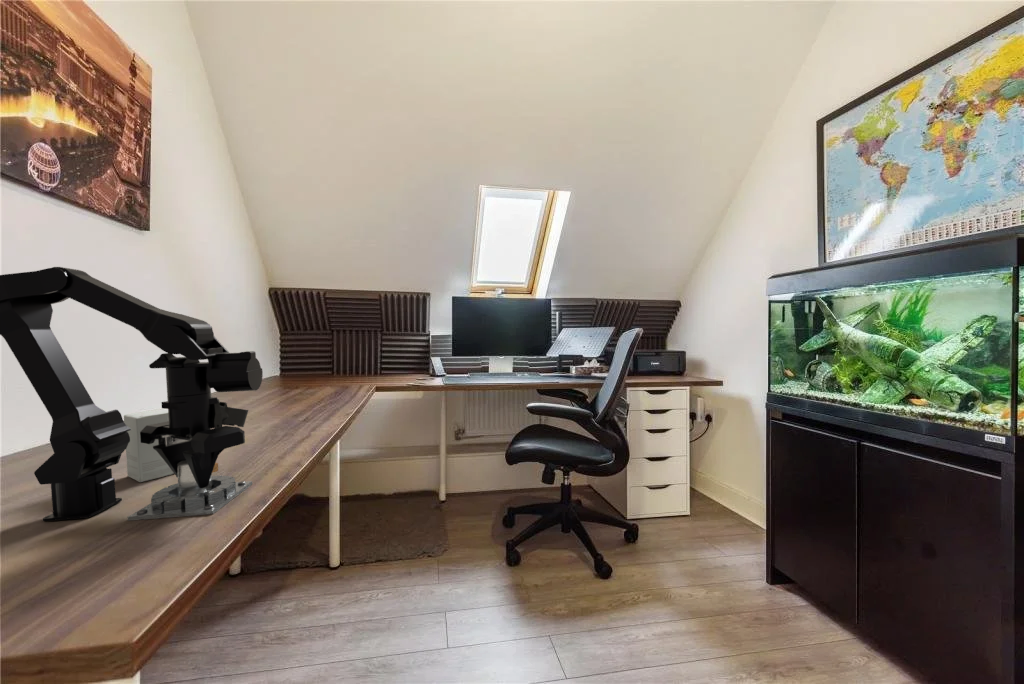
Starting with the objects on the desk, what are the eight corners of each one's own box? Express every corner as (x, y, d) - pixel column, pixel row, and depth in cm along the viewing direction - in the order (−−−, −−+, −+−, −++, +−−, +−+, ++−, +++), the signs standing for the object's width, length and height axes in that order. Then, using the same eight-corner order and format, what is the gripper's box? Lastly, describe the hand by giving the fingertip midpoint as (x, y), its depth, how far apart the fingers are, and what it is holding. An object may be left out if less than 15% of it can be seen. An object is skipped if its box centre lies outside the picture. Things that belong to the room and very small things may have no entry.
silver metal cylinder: (187, 504, 65) (187, 468, 65) (172, 498, 67) (171, 463, 66) (222, 492, 70) (222, 458, 69) (207, 486, 72) (207, 453, 71)
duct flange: (127, 520, 61) (126, 506, 61) (181, 489, 73) (181, 477, 73) (212, 514, 63) (212, 500, 63) (252, 484, 75) (251, 472, 74)
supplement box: (186, 471, 83) (182, 410, 82) (138, 483, 76) (134, 417, 76) (172, 465, 87) (168, 407, 86) (126, 476, 80) (122, 414, 80)
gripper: (273, 388, 71) (277, 475, 71) (207, 384, 78) (211, 463, 79) (203, 399, 61) (209, 501, 61) (135, 394, 68) (141, 484, 69)
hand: (194, 485), depth 68 cm, fingers closed on silver metal cylinder, 4 cm apart
